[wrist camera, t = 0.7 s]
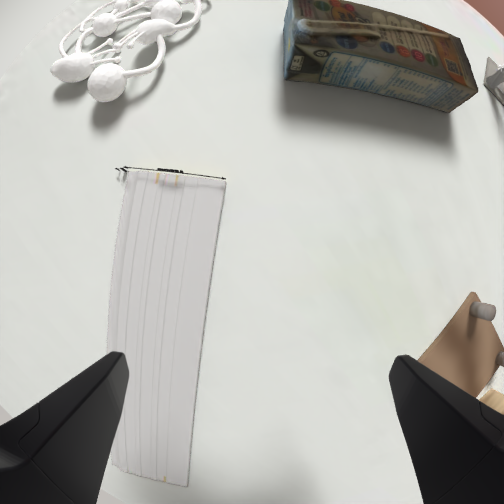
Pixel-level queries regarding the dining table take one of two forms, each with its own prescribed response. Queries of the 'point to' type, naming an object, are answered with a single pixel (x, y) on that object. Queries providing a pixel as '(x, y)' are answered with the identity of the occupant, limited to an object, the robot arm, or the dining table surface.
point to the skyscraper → (495, 79)
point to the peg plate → (467, 347)
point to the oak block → (494, 400)
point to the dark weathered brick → (375, 53)
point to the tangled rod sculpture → (120, 45)
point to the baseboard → (161, 315)
